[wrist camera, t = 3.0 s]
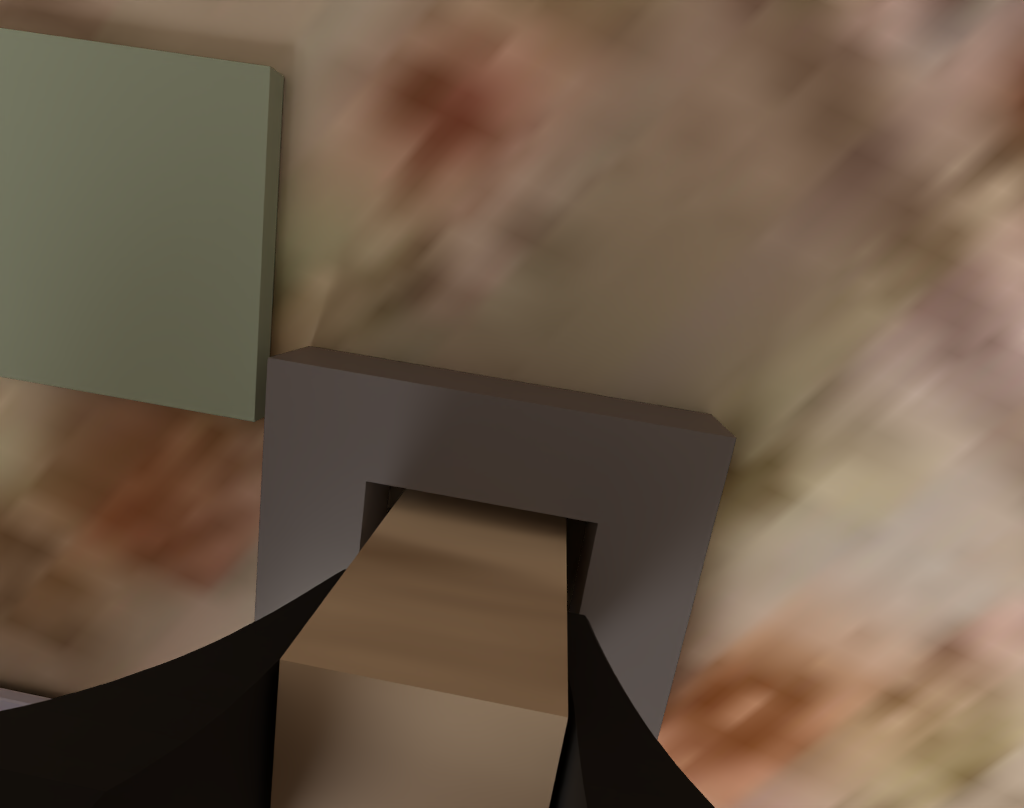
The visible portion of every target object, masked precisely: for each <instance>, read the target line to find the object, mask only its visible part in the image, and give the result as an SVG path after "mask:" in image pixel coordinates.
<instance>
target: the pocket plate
mask: <svg viewBox="0 0 1024 808" xmlns="http://www.w3.org/2000/svg"><path fill="white" fill-rule="evenodd" d="M735 442H736V437H735V436H734V435H733V434H732V433H731V432H729V431H728V430H727V429H726V428H725V427H724V426H723V425H722V424H721V423H720V422H719V421H718V420H717V419H716V418H715V417H713V416H712V415H711V414H706V413H700V412H694V411H688V410H682V409H676V408H670V407H664V406H659V405H653V404H647V403H641V402H635V401H629V400H623V399H617V398H611V397H606V396H600V395H594V394H588V393H582V392H576V391H570V390H564V389H558V388H552V387H547V386H541V385H535V384H529V383H523V382H517V381H511V380H505V379H499V378H494V377H488V376H482V375H476V374H470V373H464V372H458V371H452V370H446V369H441V368H435V367H429V366H423V365H417V364H411V363H405V362H399V361H393V360H387V359H382V358H376V357H370V356H364V355H358V354H352V353H346V352H340V351H334V350H329V349H323V348H317V347H311V346H308V347H304V348H301V349H297V350H294V351H290V352H286V353H283V354H279V355H276V356H272V357H268V361H267V381H266V401H265V421H264V442H263V462H262V482H261V502H260V522H259V542H258V562H257V583H256V603H255V621H257V620H259V619H261V618H262V617H264V616H266V615H268V614H270V613H272V612H274V611H275V610H277V609H279V608H280V607H282V606H284V605H286V604H287V603H289V602H291V601H292V600H294V599H296V598H297V597H299V596H301V595H302V594H304V593H306V592H307V591H309V590H311V589H312V588H314V587H316V586H317V585H319V584H320V583H322V582H324V581H325V580H327V579H328V578H330V577H332V576H333V575H335V574H337V573H338V572H340V571H342V570H344V569H347V568H348V567H349V565H350V564H351V563H352V561H353V560H354V559H355V557H356V556H357V554H358V553H359V552H360V550H361V549H362V548H363V546H364V545H365V544H366V542H367V541H368V540H369V538H370V537H371V536H372V534H373V533H374V531H375V530H376V529H377V527H378V526H379V525H380V523H381V522H382V521H383V519H384V518H385V517H386V513H387V504H388V495H389V485H390V486H395V487H401V488H406V489H412V490H417V491H423V492H428V493H434V494H439V495H445V496H450V497H456V498H461V499H467V500H472V501H478V502H483V503H489V504H494V505H500V506H505V507H511V508H516V509H522V510H527V511H533V512H538V513H544V514H549V515H555V516H560V517H566V518H571V519H577V520H582V521H587V523H586V528H585V533H584V538H583V543H582V548H581V553H580V558H579V563H578V568H577V572H576V577H575V582H574V587H573V592H572V597H571V602H570V607H569V612H571V613H576V614H582V615H585V616H586V617H587V619H588V620H589V622H590V625H591V627H592V629H593V631H594V634H595V636H596V638H597V640H598V642H599V644H600V646H601V648H602V650H603V652H604V654H605V656H606V658H607V660H608V662H609V664H610V666H611V668H612V669H613V671H614V673H615V675H616V676H617V678H618V680H619V682H620V683H621V685H622V687H623V689H624V691H625V692H626V694H627V695H628V697H629V699H630V700H631V702H632V704H633V705H634V707H635V708H636V710H637V711H638V713H639V714H640V716H641V718H642V719H643V721H644V722H645V724H646V725H647V727H648V728H649V729H650V731H651V732H652V734H653V735H654V737H655V738H656V739H658V736H659V732H660V728H661V724H662V720H663V716H664V713H665V709H666V705H667V701H668V697H669V694H670V690H671V686H672V682H673V678H674V675H675V671H676V667H677V663H678V659H679V655H680V652H681V648H682V644H683V640H684V636H685V633H686V629H687V625H688V621H689V617H690V614H691V610H692V606H693V602H694V598H695V595H696V591H697V587H698V583H699V579H700V575H701V572H702V568H703V564H704V560H705V556H706V553H707V549H708V545H709V541H710V537H711V534H712V530H713V526H714V522H715V518H716V514H717V511H718V507H719V503H720V499H721V495H722V492H723V488H724V484H725V480H726V476H727V473H728V469H729V465H730V461H731V457H732V453H733V450H734V446H735Z"/></svg>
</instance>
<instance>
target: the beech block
mask: <svg viewBox="0 0 1024 808" xmlns="http://www.w3.org/2000/svg"><path fill="white" fill-rule="evenodd" d="M567 720H568V658H567V564H566V517H560V516H555V515H549V514H544V513H538V512H533V511H527V510H522V509H516V508H511V507H505V506H500V505H494V504H489V503H483V502H478V501H472V500H467V499H461V498H456V497H450V496H445V495H439V494H434V493H428V492H423V491H417V490H412V489H406V490H405V491H404V492H403V494H402V495H401V496H400V498H399V499H398V500H397V502H396V503H395V504H394V506H393V507H392V509H391V510H390V511H389V513H388V514H387V515H386V517H385V518H384V519H383V521H382V522H381V523H380V525H379V526H378V527H377V529H376V530H375V531H374V533H373V534H372V536H371V537H370V538H369V540H368V541H367V542H366V544H365V545H364V546H363V548H362V549H361V550H360V552H359V553H358V554H357V556H356V557H355V559H354V560H353V561H352V563H351V564H350V565H349V567H348V568H347V569H346V571H345V572H344V573H343V575H342V576H341V577H340V579H339V580H338V582H337V583H336V584H335V586H334V587H333V588H332V590H331V591H330V592H329V594H328V595H327V596H326V598H325V599H324V600H323V602H322V603H321V605H320V606H319V607H318V609H317V610H316V611H315V613H314V614H313V615H312V617H311V618H310V619H309V621H308V622H307V623H306V625H305V626H304V628H303V629H302V630H301V632H300V633H299V634H298V636H297V637H296V638H295V640H294V641H293V642H292V644H291V645H290V646H289V648H288V649H287V651H286V652H285V653H284V655H283V656H282V657H281V659H280V665H279V681H278V696H277V712H276V728H275V744H274V760H273V776H272V791H271V807H270V808H549V805H550V800H551V795H552V791H553V786H554V781H555V777H556V772H557V767H558V763H559V758H560V753H561V748H562V744H563V739H564V734H565V730H566V725H567Z"/></svg>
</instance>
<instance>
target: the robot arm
mask: <svg viewBox="0 0 1024 808" xmlns="http://www.w3.org/2000/svg"><path fill="white" fill-rule="evenodd" d="M345 571H346V569H344V570H342V571H340V572H338V573H337V574H335V575H333V576H332V577H330V578H328V579H327V580H325V581H324V582H322V583H320V584H319V585H317V586H316V587H314V588H312V589H311V590H309V591H307V592H306V593H304V594H302V595H301V596H299V597H297V598H296V599H294V600H292V601H291V602H289V603H287V604H286V605H284V606H282V607H280V608H279V609H277V610H275V611H274V612H272V613H270V614H268V615H266V616H264V617H262V618H261V619H259V620H257V621H255V622H253V623H251V624H249V625H247V626H245V627H244V628H242V629H240V630H238V631H236V632H234V633H232V634H230V635H228V636H226V637H224V638H222V639H220V640H218V641H216V642H213V643H211V644H209V645H207V646H205V647H202V648H200V649H198V650H195V651H193V652H191V653H188V654H186V655H184V656H181V657H179V658H176V659H174V660H171V661H169V662H166V663H163V664H161V665H158V666H155V667H152V668H149V669H146V670H144V671H141V672H138V673H135V674H132V675H130V676H127V677H124V678H121V679H118V680H115V681H112V682H109V683H106V684H103V685H99V686H96V687H93V688H89V689H86V690H83V691H79V692H76V693H72V694H68V695H64V696H61V697H57V698H53V699H51V698H47V697H42V696H37V695H32V694H28V693H23V692H18V691H13V690H8V689H4V688H0V808H270V807H271V791H272V776H273V760H274V744H275V728H276V712H277V696H278V681H279V665H280V659H281V657H282V656H283V655H284V653H285V652H286V651H287V649H288V648H289V646H290V645H291V644H292V642H293V641H294V640H295V638H296V637H297V636H298V634H299V633H300V632H301V630H302V629H303V628H304V626H305V625H306V623H307V622H308V621H309V619H310V618H311V617H312V615H313V614H314V613H315V611H316V610H317V609H318V607H319V606H320V605H321V603H322V602H323V600H324V599H325V598H326V596H327V595H328V594H329V592H330V591H331V590H332V588H333V587H334V586H335V584H336V583H337V582H338V580H339V579H340V577H341V576H342V575H343V573H344V572H345ZM567 658H568V720H567V725H566V730H565V734H564V739H563V744H562V748H561V753H560V758H559V763H558V767H557V772H556V777H555V781H554V786H553V791H552V795H551V800H550V805H549V808H715V807H714V806H713V805H712V804H711V803H710V802H709V801H708V800H707V799H706V798H705V797H704V795H703V794H702V793H701V792H700V791H699V790H698V789H697V788H696V787H695V786H694V784H693V783H692V782H691V781H690V780H689V779H688V778H687V777H686V775H685V774H684V773H683V772H682V771H681V770H680V768H679V767H678V766H677V765H676V764H675V762H674V761H673V760H672V759H671V757H670V756H669V755H668V753H667V752H666V751H665V750H664V748H663V747H662V746H661V744H660V743H659V742H658V741H657V739H656V738H655V737H654V735H653V734H652V732H651V731H650V729H649V728H648V727H647V725H646V724H645V722H644V721H643V719H642V718H641V716H640V714H639V713H638V711H637V710H636V708H635V707H634V705H633V704H632V702H631V700H630V699H629V697H628V695H627V694H626V692H625V691H624V689H623V687H622V685H621V683H620V682H619V680H618V678H617V676H616V675H615V673H614V671H613V669H612V668H611V666H610V664H609V662H608V660H607V658H606V656H605V654H604V652H603V650H602V648H601V646H600V644H599V642H598V640H597V638H596V636H595V634H594V631H593V629H592V627H591V625H590V622H589V620H588V619H587V617H586V616H585V615H582V614H576V613H571V612H567Z"/></svg>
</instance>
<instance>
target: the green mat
mask: <svg viewBox="0 0 1024 808" xmlns="http://www.w3.org/2000/svg"><path fill="white" fill-rule="evenodd" d="M283 84H284V76H283V75H281V74H280V73H279V72H277V71H276V70H274V69H273V68H272V67H270V66H263V65H256V64H249V63H242V62H235V61H229V60H222V59H215V58H208V57H201V56H194V55H187V54H180V53H173V52H166V51H159V50H152V49H145V48H138V47H131V46H124V45H117V44H110V43H103V42H96V41H89V40H82V39H75V38H68V37H61V36H54V35H47V34H40V33H33V32H26V31H19V30H12V29H5V28H0V377H5V378H11V379H16V380H22V381H28V382H33V383H39V384H44V385H50V386H56V387H61V388H67V389H72V390H78V391H84V392H89V393H95V394H101V395H106V396H112V397H117V398H123V399H129V400H134V401H140V402H145V403H151V404H157V405H162V406H168V407H174V408H179V409H185V410H190V411H196V412H202V413H207V414H213V415H219V416H224V417H230V418H235V419H241V420H247V421H252V422H255V421H257V420H259V419H261V418H263V417H265V401H266V381H267V361H268V357H270V342H271V322H272V302H273V282H274V263H275V243H276V223H277V203H278V183H279V164H280V144H281V124H282V104H283Z"/></svg>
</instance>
